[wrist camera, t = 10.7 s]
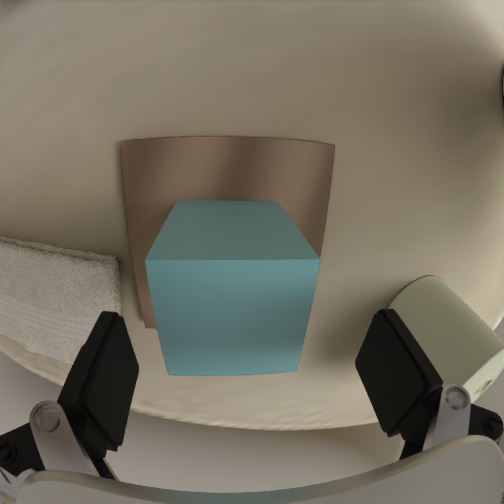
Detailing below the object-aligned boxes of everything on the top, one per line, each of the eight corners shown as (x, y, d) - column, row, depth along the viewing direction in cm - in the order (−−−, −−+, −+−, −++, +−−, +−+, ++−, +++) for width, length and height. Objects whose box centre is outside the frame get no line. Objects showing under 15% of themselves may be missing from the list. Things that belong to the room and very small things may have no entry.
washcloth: (-23, 225, 15) (-42, 237, 12) (125, 248, 18) (111, 268, 16) (2, 320, 20) (-10, 336, 17) (133, 357, 23) (127, 381, 20)
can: (418, 345, 27) (466, 416, 16) (364, 344, 25) (414, 438, 14) (457, 281, 23) (524, 347, 13) (408, 268, 21) (492, 355, 11)
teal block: (278, 201, 17) (320, 259, 10) (270, 286, 19) (296, 371, 12) (176, 200, 16) (144, 260, 9) (182, 287, 19) (168, 375, 12)
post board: (329, 143, 16) (394, 159, 10) (303, 318, 22) (331, 387, 16) (126, 140, 15) (66, 153, 8) (147, 320, 21) (128, 393, 14)
